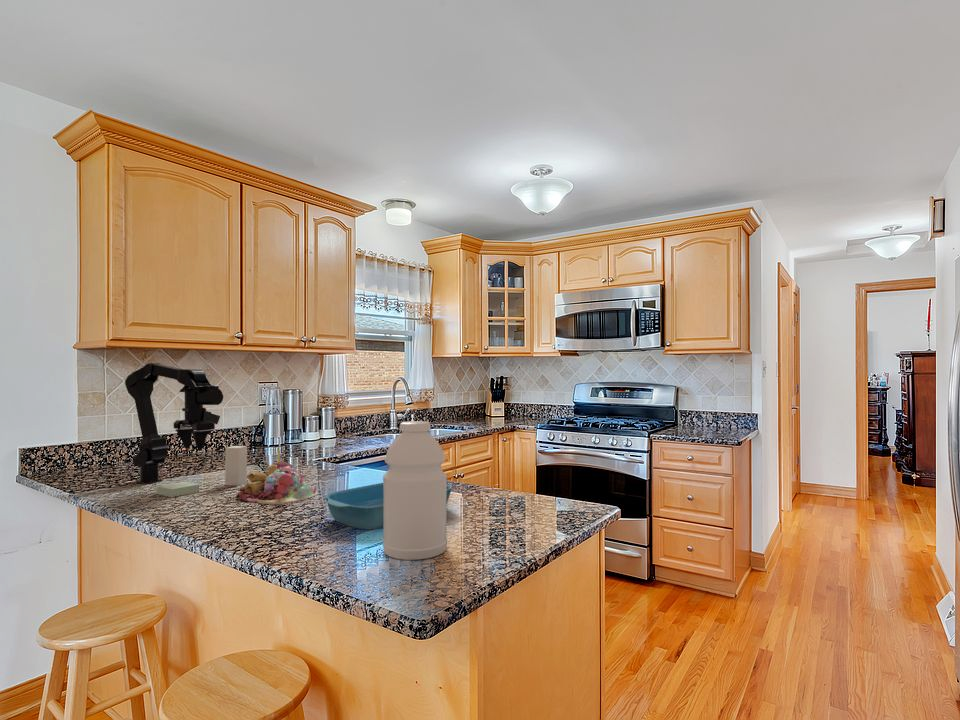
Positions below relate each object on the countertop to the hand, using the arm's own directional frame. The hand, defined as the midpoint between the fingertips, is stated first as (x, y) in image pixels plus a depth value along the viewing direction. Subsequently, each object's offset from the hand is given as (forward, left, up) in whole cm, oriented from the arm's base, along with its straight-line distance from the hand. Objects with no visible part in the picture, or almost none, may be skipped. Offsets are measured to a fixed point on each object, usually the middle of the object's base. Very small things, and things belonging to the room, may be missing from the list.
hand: (193, 449), depth 190 cm
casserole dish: (+86, +8, -13) cm, 87 cm away
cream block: (+11, +9, -12) cm, 19 cm away
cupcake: (+21, +20, -13) cm, 32 cm away
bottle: (+111, -11, -13) cm, 112 cm away
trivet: (+9, -10, -12) cm, 18 cm away
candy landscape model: (+38, +7, -13) cm, 41 cm away
